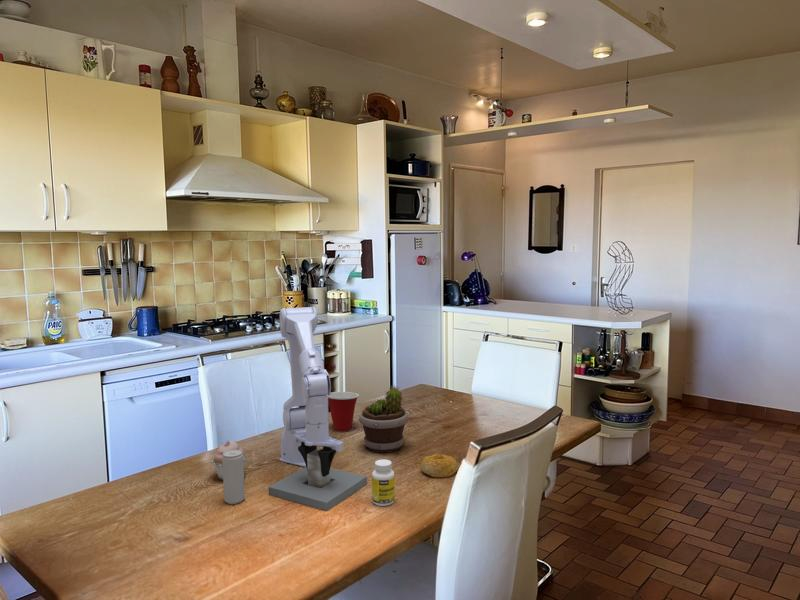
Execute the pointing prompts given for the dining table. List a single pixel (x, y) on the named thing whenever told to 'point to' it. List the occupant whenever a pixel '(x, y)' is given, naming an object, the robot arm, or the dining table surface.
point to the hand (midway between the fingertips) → (318, 473)
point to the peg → (316, 470)
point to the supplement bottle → (383, 483)
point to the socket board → (316, 497)
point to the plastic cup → (342, 409)
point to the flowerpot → (384, 422)
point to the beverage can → (233, 476)
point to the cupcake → (218, 455)
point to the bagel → (439, 465)
